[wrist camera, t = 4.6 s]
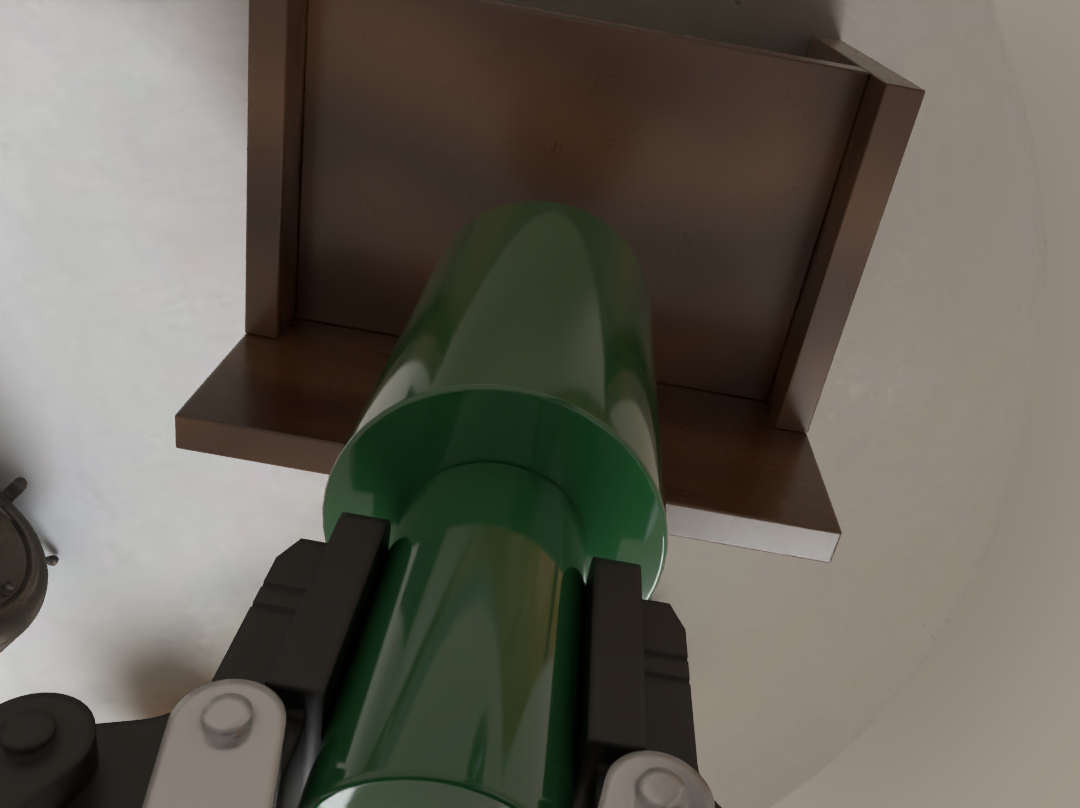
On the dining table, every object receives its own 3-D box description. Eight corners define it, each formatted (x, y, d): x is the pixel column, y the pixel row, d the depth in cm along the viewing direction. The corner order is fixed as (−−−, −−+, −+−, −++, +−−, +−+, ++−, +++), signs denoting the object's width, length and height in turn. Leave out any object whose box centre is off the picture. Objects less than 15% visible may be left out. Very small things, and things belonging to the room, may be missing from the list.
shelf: (350, -50, 38) (160, -19, 22) (841, 39, 38) (998, 133, 23) (332, 255, 44) (174, 448, 29) (755, 330, 45) (830, 564, 29)
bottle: (441, 180, 23) (154, 630, 9) (672, 222, 23) (758, 735, 9) (418, 385, 25) (172, 982, 11) (625, 422, 26) (632, 1061, 11)
